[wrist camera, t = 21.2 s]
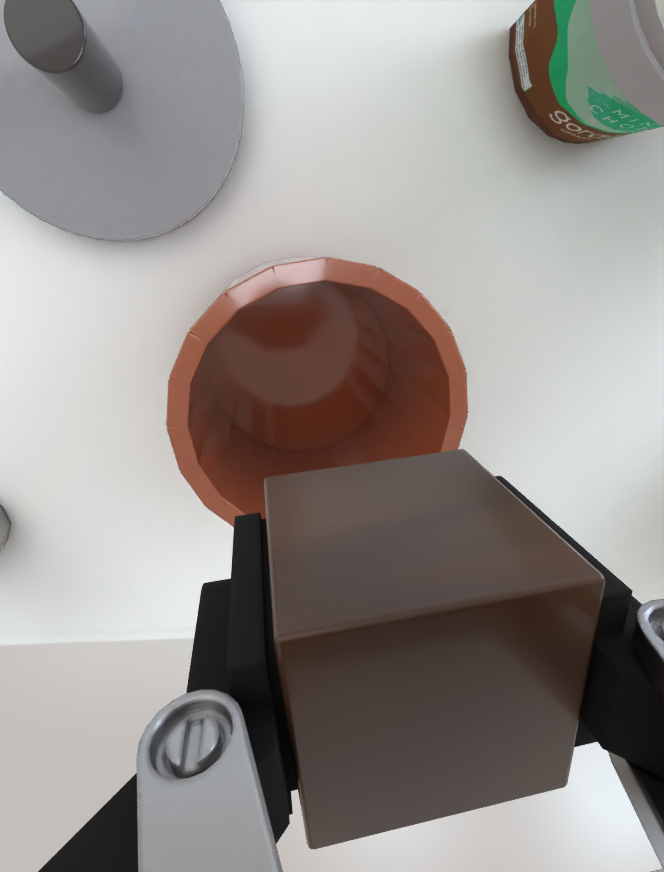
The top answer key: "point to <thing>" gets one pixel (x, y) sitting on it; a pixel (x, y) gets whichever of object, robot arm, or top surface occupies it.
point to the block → (423, 641)
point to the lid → (117, 112)
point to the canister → (310, 379)
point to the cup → (3, 527)
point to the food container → (590, 67)
